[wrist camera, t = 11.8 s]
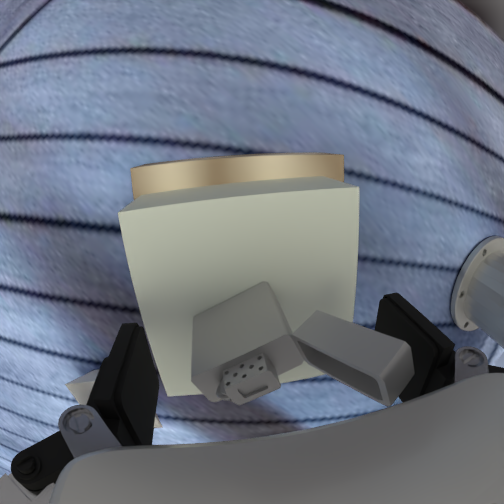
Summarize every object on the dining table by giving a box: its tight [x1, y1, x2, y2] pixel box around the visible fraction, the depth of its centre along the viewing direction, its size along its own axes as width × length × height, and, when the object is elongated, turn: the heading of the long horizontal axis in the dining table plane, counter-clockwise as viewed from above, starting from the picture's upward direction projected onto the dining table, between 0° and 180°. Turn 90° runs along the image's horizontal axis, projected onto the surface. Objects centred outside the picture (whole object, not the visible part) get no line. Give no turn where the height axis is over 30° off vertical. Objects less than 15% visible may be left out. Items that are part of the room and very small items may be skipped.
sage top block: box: [118, 176, 359, 396], centre depth 17 cm, size 11×11×5 cm
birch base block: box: [130, 153, 344, 200], centre depth 22 cm, size 13×13×5 cm
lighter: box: [191, 281, 415, 407], centre depth 11 cm, size 7×2×8 cm, turn 117°
